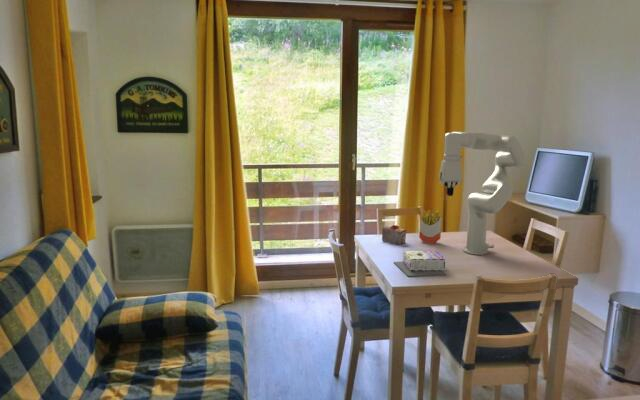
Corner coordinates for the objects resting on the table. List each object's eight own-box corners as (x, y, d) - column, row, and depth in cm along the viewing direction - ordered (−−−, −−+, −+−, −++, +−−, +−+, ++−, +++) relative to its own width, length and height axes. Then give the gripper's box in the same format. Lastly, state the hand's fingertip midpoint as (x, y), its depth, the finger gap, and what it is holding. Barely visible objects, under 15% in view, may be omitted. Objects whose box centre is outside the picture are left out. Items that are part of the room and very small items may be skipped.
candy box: (435, 261, 235) (402, 262, 234) (436, 250, 234) (403, 250, 233) (444, 271, 221) (409, 271, 220) (445, 259, 220) (410, 259, 219)
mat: (428, 261, 237) (428, 260, 237) (445, 274, 218) (445, 273, 218) (393, 263, 234) (393, 261, 234) (407, 276, 215) (407, 275, 215)
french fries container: (437, 244, 267) (438, 213, 263) (418, 241, 273) (420, 210, 269) (440, 243, 270) (441, 211, 267) (422, 240, 276) (423, 209, 273)
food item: (408, 243, 270) (408, 226, 268) (400, 246, 264) (400, 228, 262) (387, 238, 279) (388, 222, 277) (379, 241, 273) (380, 224, 271)
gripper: (462, 157, 239) (460, 193, 242) (434, 157, 236) (432, 194, 239) (469, 158, 231) (467, 196, 235) (440, 159, 229) (438, 197, 232)
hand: (449, 195), depth 237 cm, fingers closed
